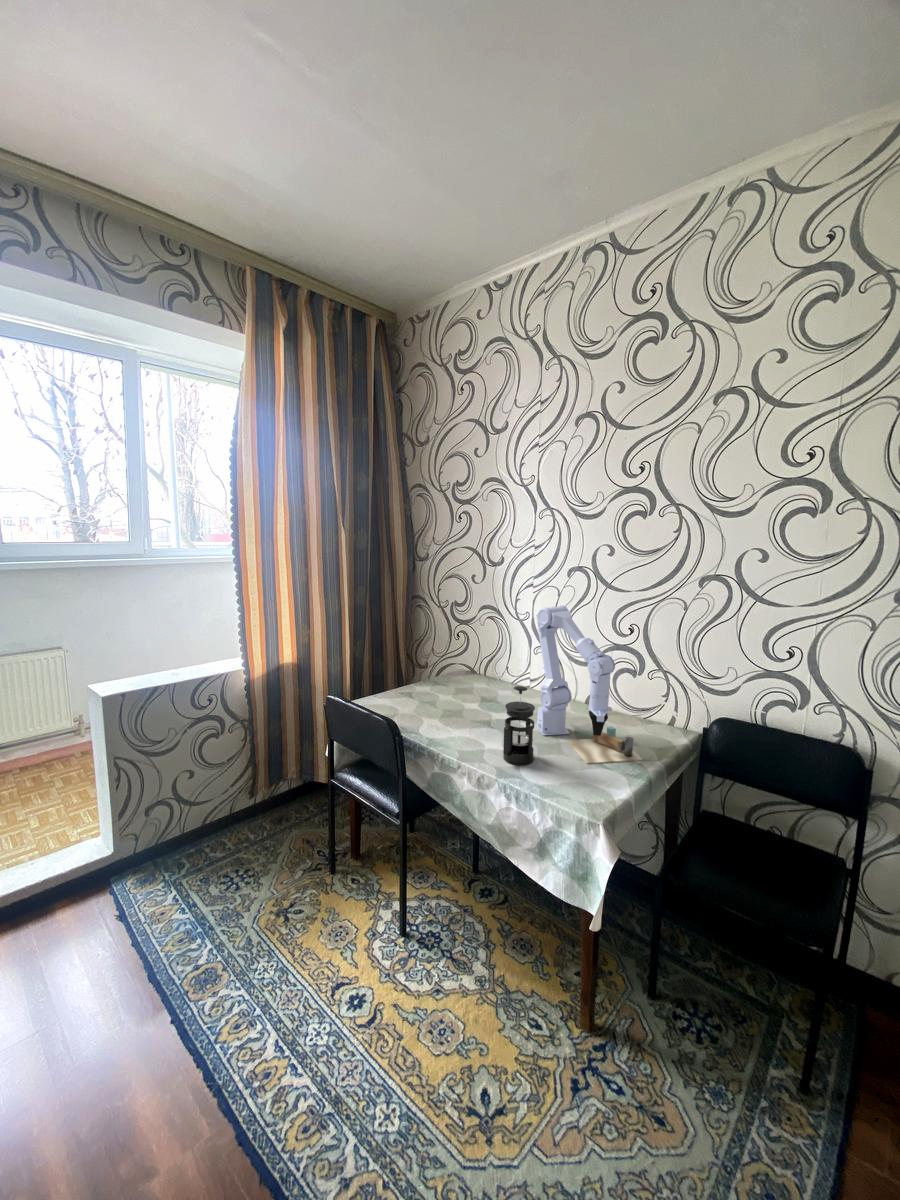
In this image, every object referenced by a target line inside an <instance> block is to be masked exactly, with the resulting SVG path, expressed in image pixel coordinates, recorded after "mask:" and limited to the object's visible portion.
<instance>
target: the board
mask: <svg viewBox="0 0 900 1200" xmlns="http://www.w3.org/2000/svg"><path fill="white" fill-rule="evenodd" d="M615 737H616V738H619V737H617V736H615ZM566 742H567V743H568V744H569V746H571V748H572V749H573V750H574V751H575V752H576V753H577V754H578V756H579V757H580V758H581V760H582V761H584V763H586V765H594V764H595V765H596V764H608V763H610V764H611V763H622V762H623V763H624V762H626V763H627V762H637V761H638V762H639V760H641V761H643V759H642V757H640V755H638V754H637V753H636V752H635V751H633V753H632V757H626V756H625V755H624V751H622V752H620V751H617V750H615V749H613V748H610V747H608V746H606V745H603V744H601V743H599V742H596V741H594V740H593V738H582V739H581V738H579V739H568V740H566ZM624 750H625V749H624Z"/></svg>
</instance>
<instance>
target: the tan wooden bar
mask: <svg viewBox="0 0 900 1200" xmlns="http://www.w3.org/2000/svg"><path fill="white" fill-rule="evenodd" d="M616 737H617V736H615V737H614V736H611V735H609V734H607V732H603V731H602V733H601V735H600V736H597V735H594V734H593V733H592V739H593V740H594V741H596V742H599V743H601V744H603V745H606V746H608V747H610V748H613V749H615V750H617V751H620V752H622V751H624V749H625V739H621V738H619V737H618V738H616Z"/></svg>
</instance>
